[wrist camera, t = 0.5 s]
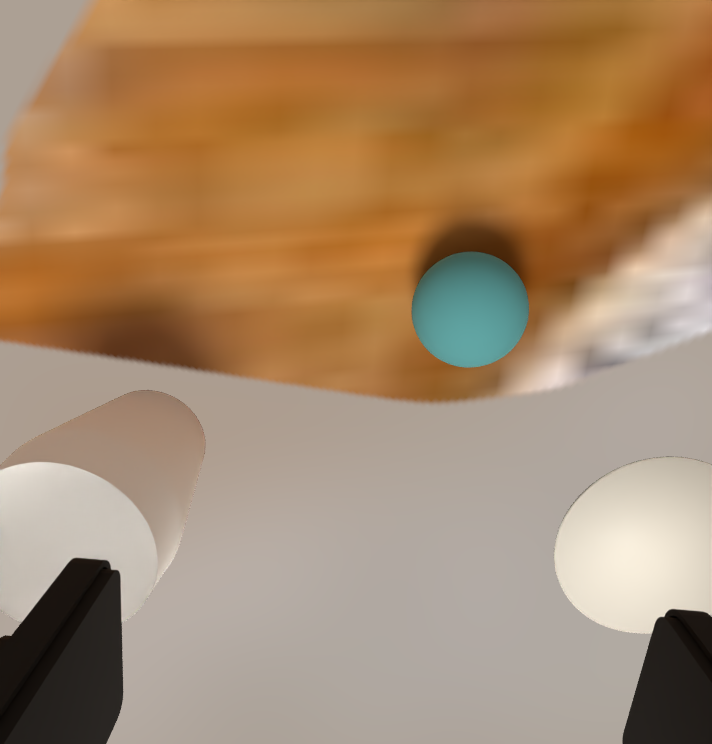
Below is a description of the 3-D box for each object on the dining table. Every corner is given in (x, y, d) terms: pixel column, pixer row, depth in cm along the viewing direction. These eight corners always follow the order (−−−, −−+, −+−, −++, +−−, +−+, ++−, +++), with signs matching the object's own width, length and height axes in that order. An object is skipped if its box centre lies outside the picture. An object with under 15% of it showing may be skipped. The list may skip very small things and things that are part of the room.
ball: (472, 223, 33) (493, 231, 28) (534, 306, 35) (567, 331, 29) (387, 292, 34) (390, 314, 29) (450, 369, 36) (465, 406, 30)
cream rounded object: (693, 416, 36) (695, 417, 36) (796, 561, 39) (798, 563, 39) (514, 534, 39) (515, 536, 39) (623, 662, 42) (624, 665, 42)
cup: (253, 427, 37) (201, 537, 26) (175, 528, 40) (96, 670, 28) (127, 340, 36) (13, 416, 24) (54, 451, 38) (-82, 568, 27)
